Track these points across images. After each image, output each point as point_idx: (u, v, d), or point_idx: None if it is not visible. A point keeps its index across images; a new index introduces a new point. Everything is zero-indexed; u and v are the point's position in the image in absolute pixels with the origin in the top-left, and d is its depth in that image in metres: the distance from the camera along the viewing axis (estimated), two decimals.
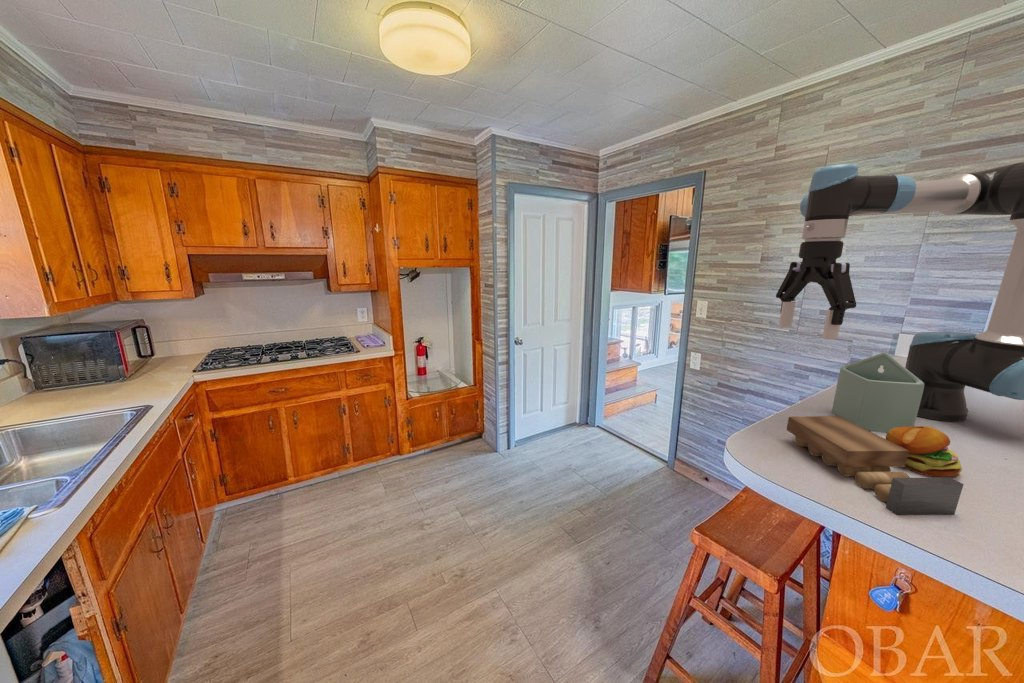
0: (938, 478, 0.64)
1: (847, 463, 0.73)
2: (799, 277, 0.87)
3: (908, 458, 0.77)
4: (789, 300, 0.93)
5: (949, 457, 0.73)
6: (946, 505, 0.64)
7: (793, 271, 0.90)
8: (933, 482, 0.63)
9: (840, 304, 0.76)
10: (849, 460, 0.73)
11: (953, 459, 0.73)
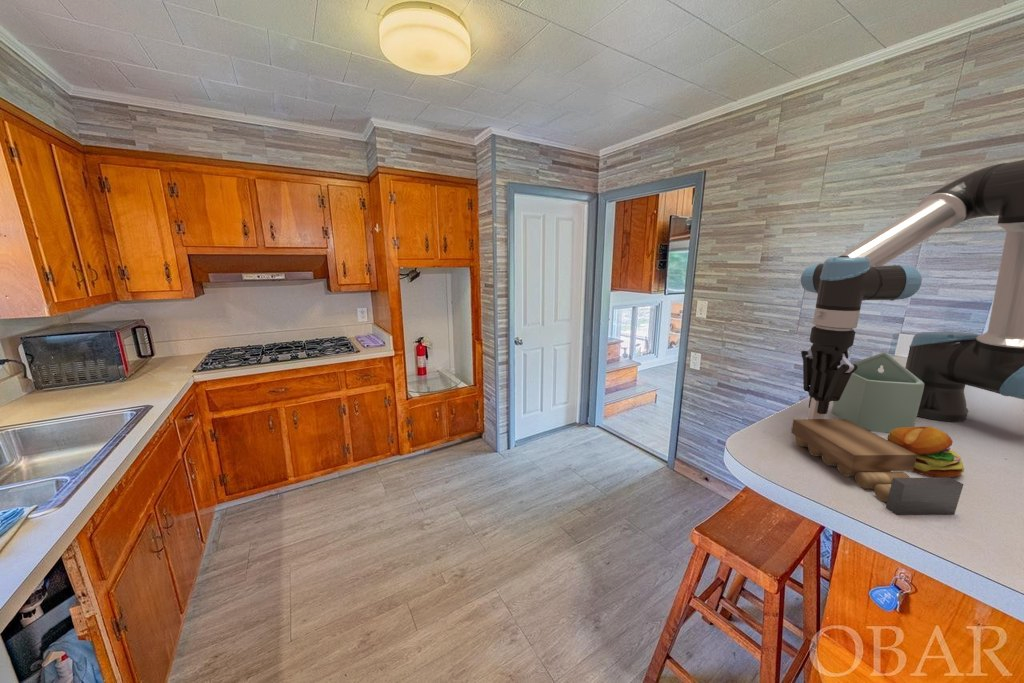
0: (938, 478, 0.64)
1: (854, 467, 0.71)
2: (815, 363, 0.85)
3: None
4: None
5: (951, 457, 0.73)
6: (946, 505, 0.64)
7: (807, 358, 0.88)
8: (933, 482, 0.63)
9: (825, 396, 0.83)
10: (856, 464, 0.71)
11: (955, 459, 0.73)
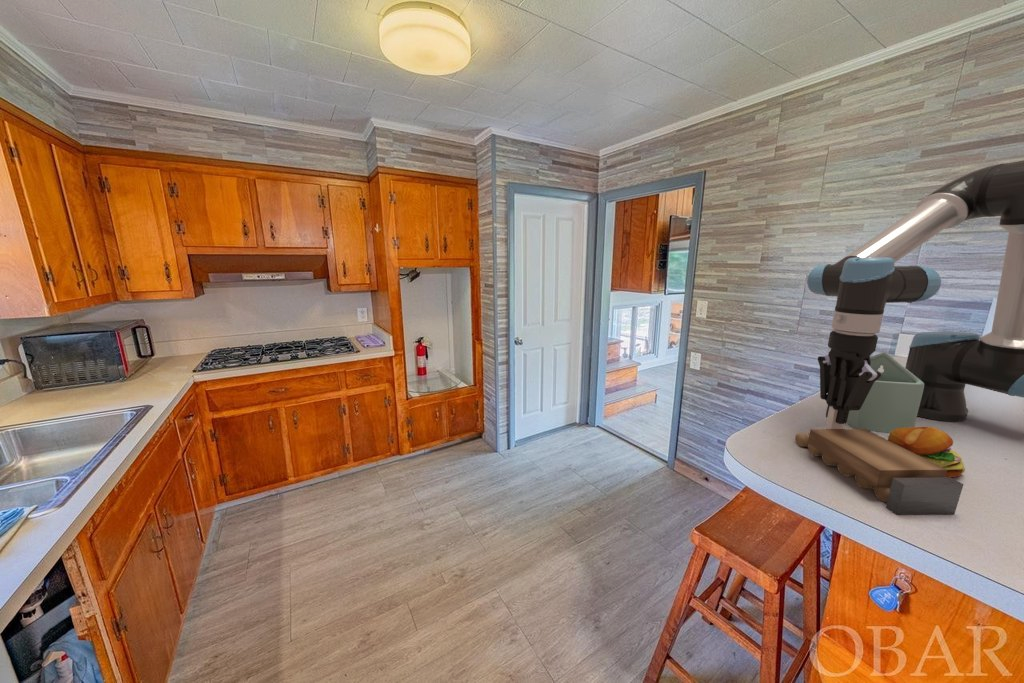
0: (938, 478, 0.64)
1: (879, 483, 0.67)
2: (833, 370, 0.80)
3: None
4: None
5: (952, 458, 0.73)
6: (946, 505, 0.64)
7: (825, 365, 0.83)
8: (933, 482, 0.63)
9: (845, 405, 0.78)
10: (882, 480, 0.66)
11: (956, 460, 0.73)
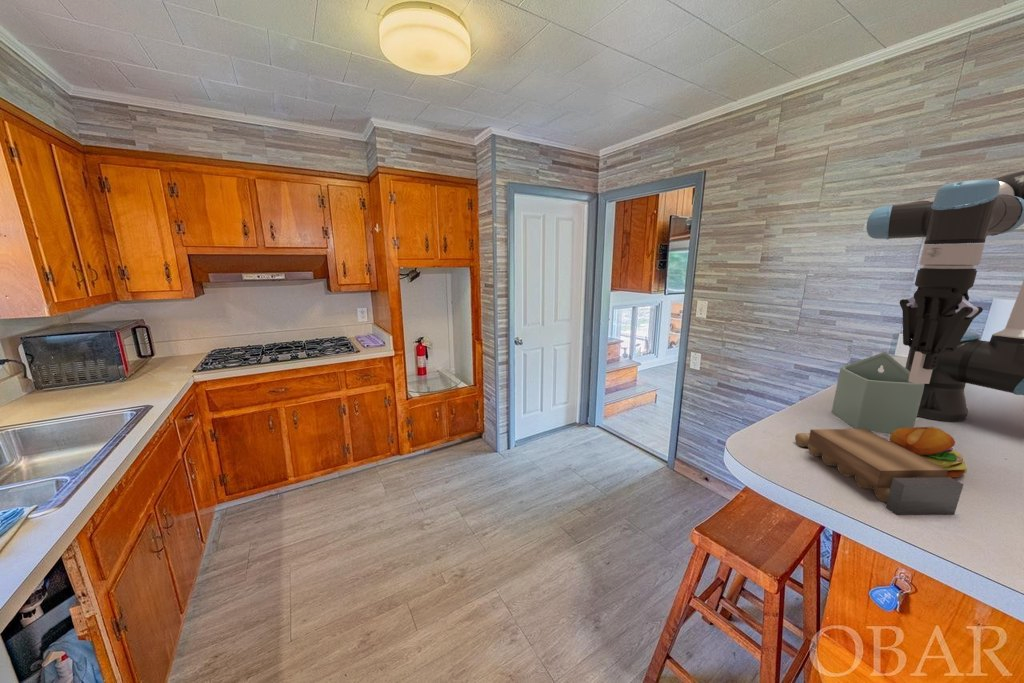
0: (938, 478, 0.64)
1: (880, 483, 0.66)
2: (921, 311, 0.74)
3: None
4: (925, 347, 0.75)
5: (954, 458, 0.73)
6: (946, 505, 0.64)
7: (909, 308, 0.77)
8: (933, 482, 0.63)
9: (937, 348, 0.71)
10: (882, 480, 0.66)
11: (958, 460, 0.73)
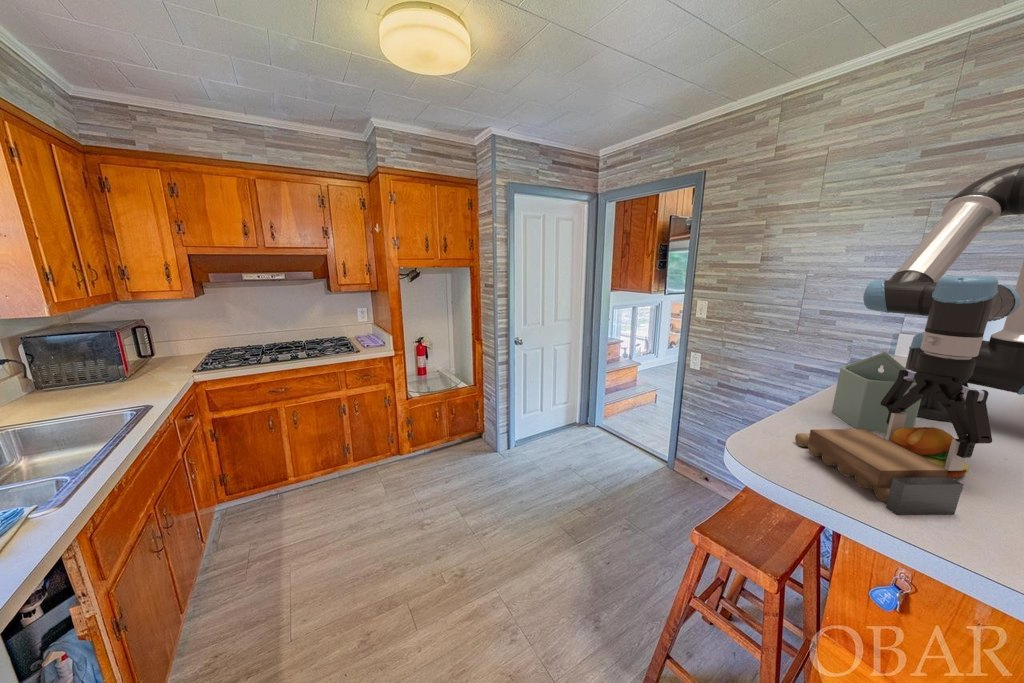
0: (938, 478, 0.64)
1: (880, 483, 0.66)
2: (915, 390, 0.77)
3: None
4: (899, 411, 0.82)
5: None
6: (946, 505, 0.64)
7: (904, 380, 0.80)
8: (933, 482, 0.63)
9: (972, 438, 0.68)
10: (882, 480, 0.66)
11: None
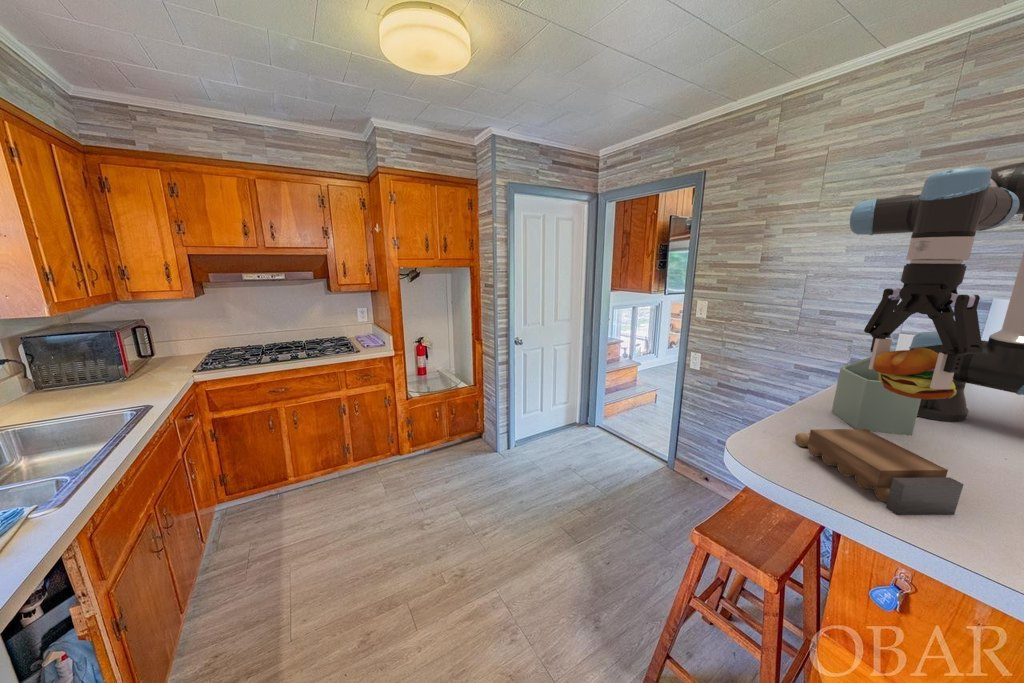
0: (938, 478, 0.64)
1: (880, 483, 0.66)
2: (901, 307, 0.70)
3: (898, 381, 0.69)
4: (884, 336, 0.75)
5: None
6: (946, 505, 0.64)
7: (889, 300, 0.73)
8: (933, 482, 0.63)
9: (960, 348, 0.61)
10: (882, 480, 0.66)
11: None
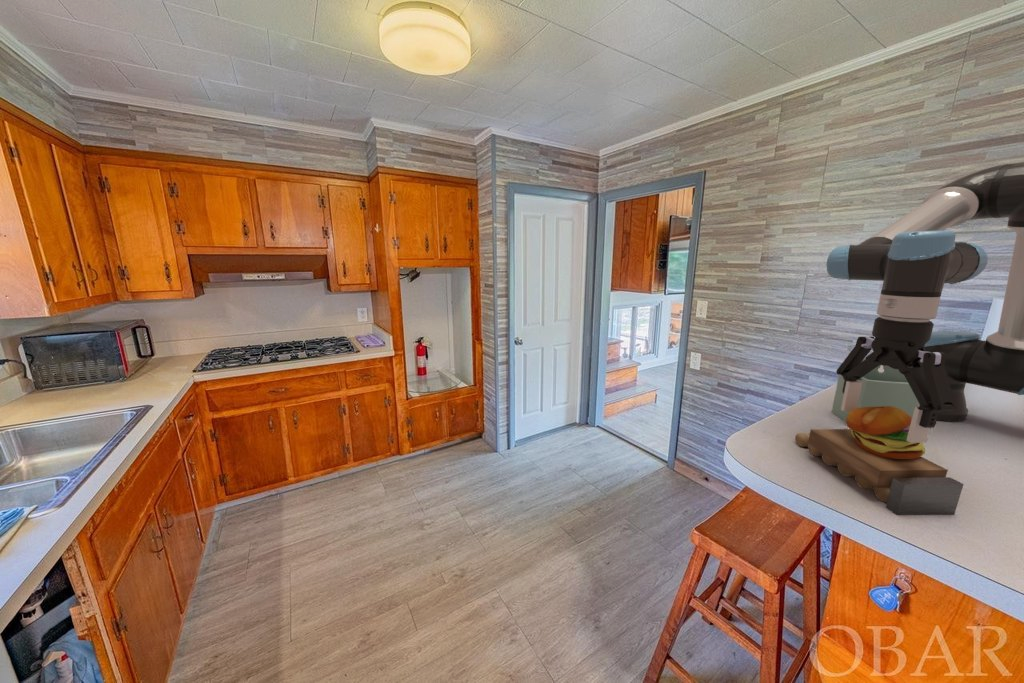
0: (938, 478, 0.64)
1: (879, 483, 0.66)
2: (871, 358, 0.72)
3: (868, 440, 0.71)
4: (854, 379, 0.77)
5: None
6: (946, 505, 0.64)
7: (861, 348, 0.74)
8: (933, 482, 0.63)
9: (934, 405, 0.61)
10: (882, 480, 0.66)
11: None
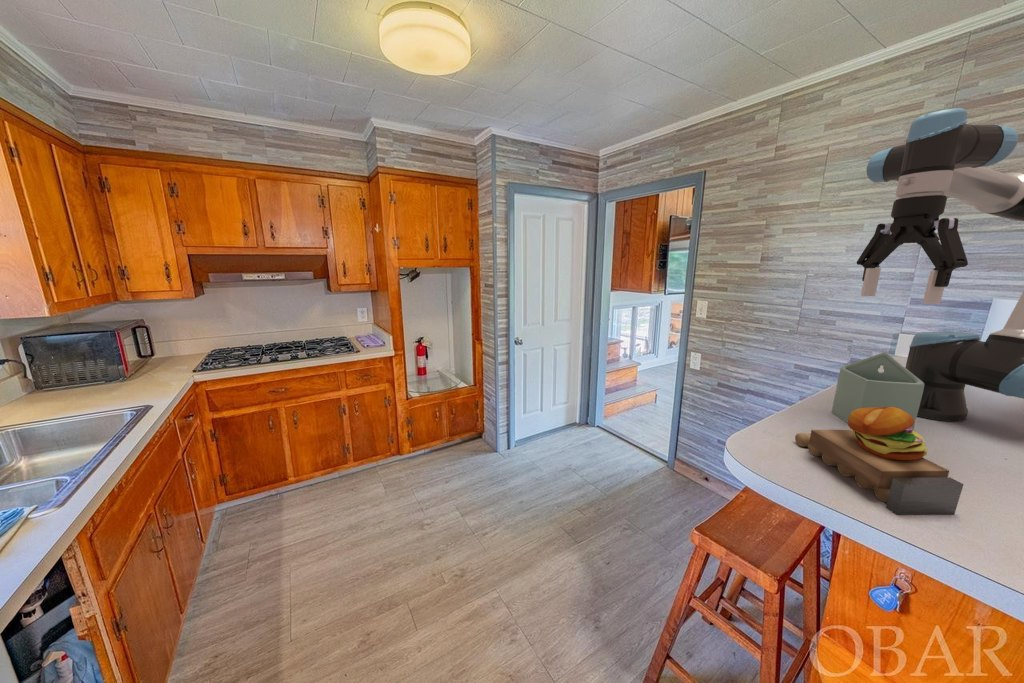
0: (938, 478, 0.64)
1: (881, 484, 0.66)
2: (890, 239, 0.80)
3: (870, 440, 0.71)
4: (873, 266, 0.86)
5: (912, 438, 0.67)
6: (946, 505, 0.64)
7: (880, 234, 0.83)
8: (933, 482, 0.63)
9: (948, 263, 0.70)
10: (884, 481, 0.66)
11: (917, 441, 0.68)
